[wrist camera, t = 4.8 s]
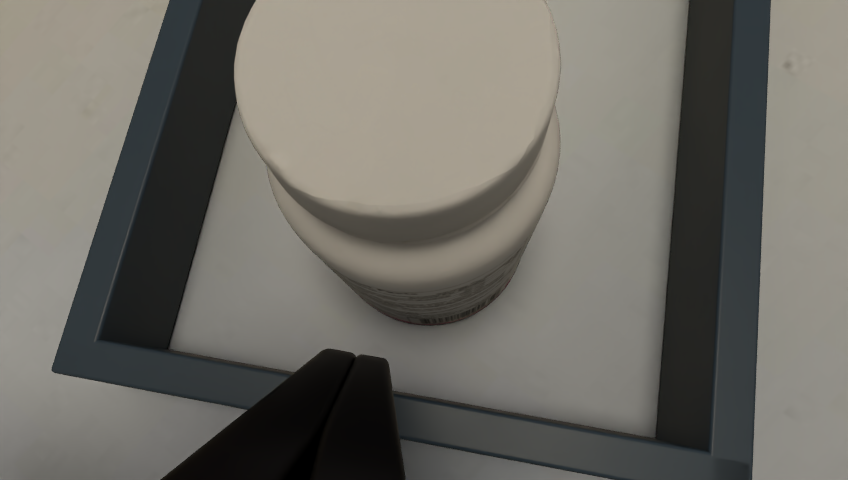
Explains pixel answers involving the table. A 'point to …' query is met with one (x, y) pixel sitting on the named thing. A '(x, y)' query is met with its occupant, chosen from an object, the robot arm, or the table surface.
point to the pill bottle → (406, 140)
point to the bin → (424, 416)
